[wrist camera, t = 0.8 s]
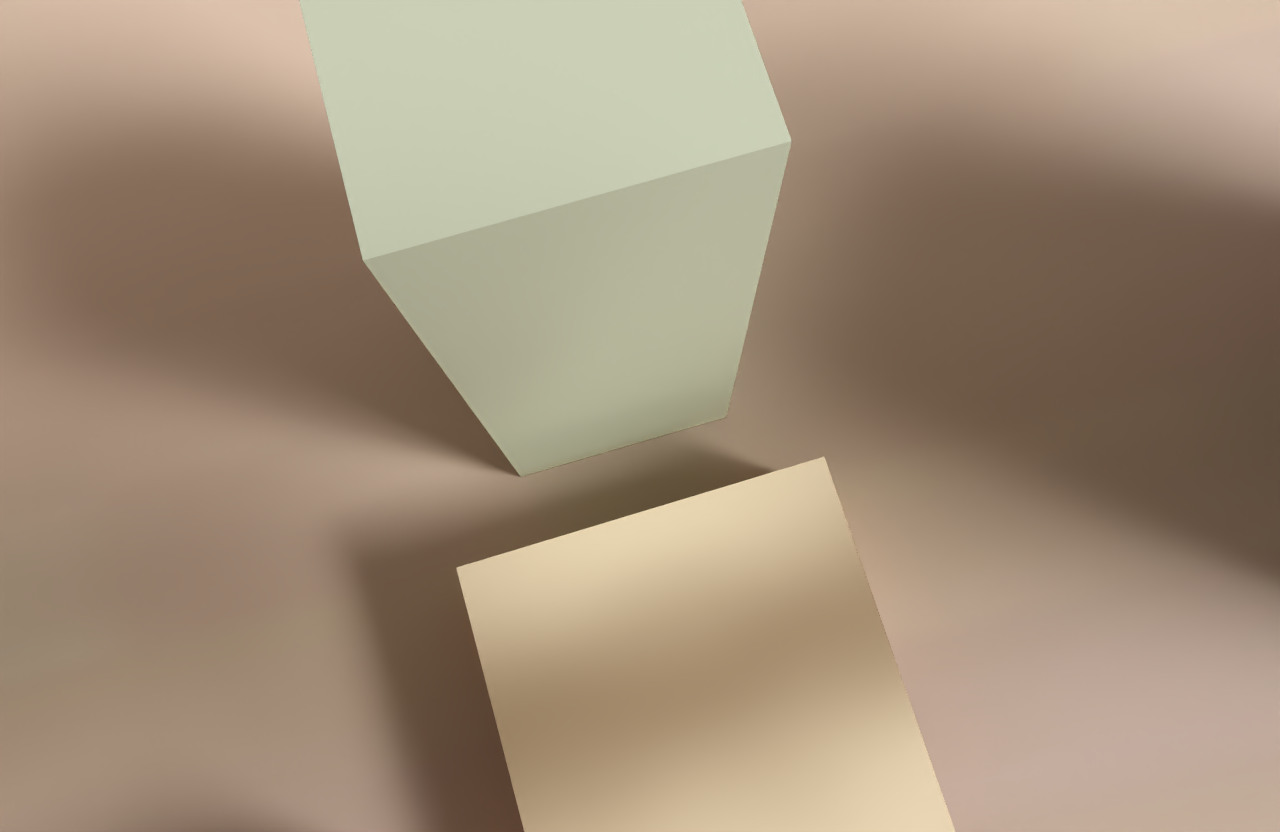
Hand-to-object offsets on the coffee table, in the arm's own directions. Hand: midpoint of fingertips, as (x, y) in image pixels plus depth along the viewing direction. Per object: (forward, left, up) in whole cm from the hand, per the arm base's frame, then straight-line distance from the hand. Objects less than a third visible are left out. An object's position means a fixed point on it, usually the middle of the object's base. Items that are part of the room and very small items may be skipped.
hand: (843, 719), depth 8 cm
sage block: (+7, +2, -13) cm, 15 cm away
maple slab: (0, +1, -14) cm, 14 cm away
